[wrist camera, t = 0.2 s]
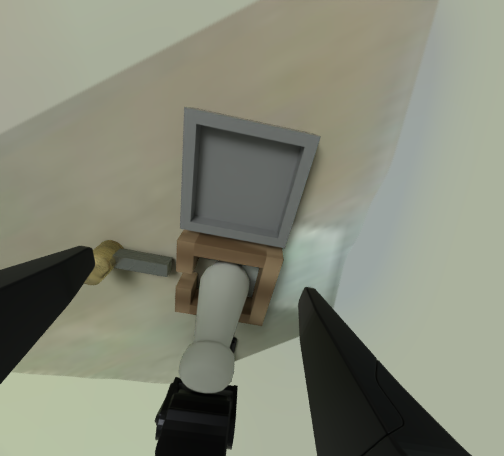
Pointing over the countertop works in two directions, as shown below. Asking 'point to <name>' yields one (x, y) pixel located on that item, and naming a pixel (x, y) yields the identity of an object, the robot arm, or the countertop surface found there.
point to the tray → (242, 176)
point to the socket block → (230, 251)
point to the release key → (125, 262)
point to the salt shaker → (215, 328)
